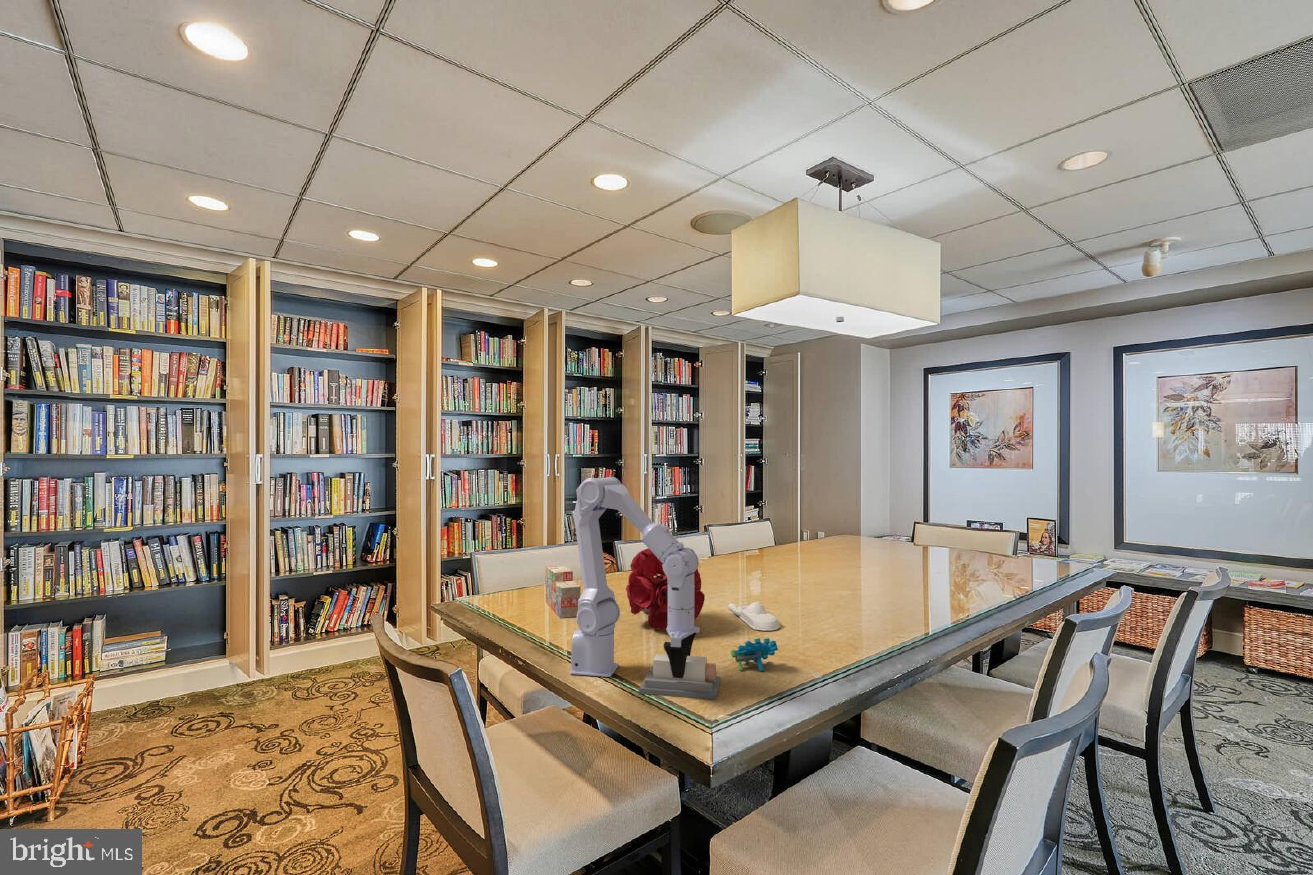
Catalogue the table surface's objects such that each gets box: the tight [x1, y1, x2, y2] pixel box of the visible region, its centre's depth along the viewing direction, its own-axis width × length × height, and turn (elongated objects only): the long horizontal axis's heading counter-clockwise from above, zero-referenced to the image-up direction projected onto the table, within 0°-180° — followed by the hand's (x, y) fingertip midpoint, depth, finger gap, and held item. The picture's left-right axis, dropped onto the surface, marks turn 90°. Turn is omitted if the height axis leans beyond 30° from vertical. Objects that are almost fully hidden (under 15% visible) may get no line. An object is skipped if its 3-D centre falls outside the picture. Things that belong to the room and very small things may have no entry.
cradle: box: [638, 665, 721, 700], centre depth 126 cm, size 16×10×2 cm, turn 79°
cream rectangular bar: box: [652, 653, 717, 682], centre depth 126 cm, size 13×4×5 cm, turn 79°
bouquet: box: [625, 547, 706, 630], centre depth 174 cm, size 22×24×30 cm
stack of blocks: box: [544, 564, 582, 619], centre depth 190 cm, size 21×6×12 cm, turn 23°
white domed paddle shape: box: [728, 600, 781, 632], centre depth 176 cm, size 10×20×6 cm, turn 13°
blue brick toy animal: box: [730, 637, 779, 673], centre depth 137 cm, size 11×6×10 cm
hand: (680, 670), depth 126 cm, fingers open, 7 cm apart
